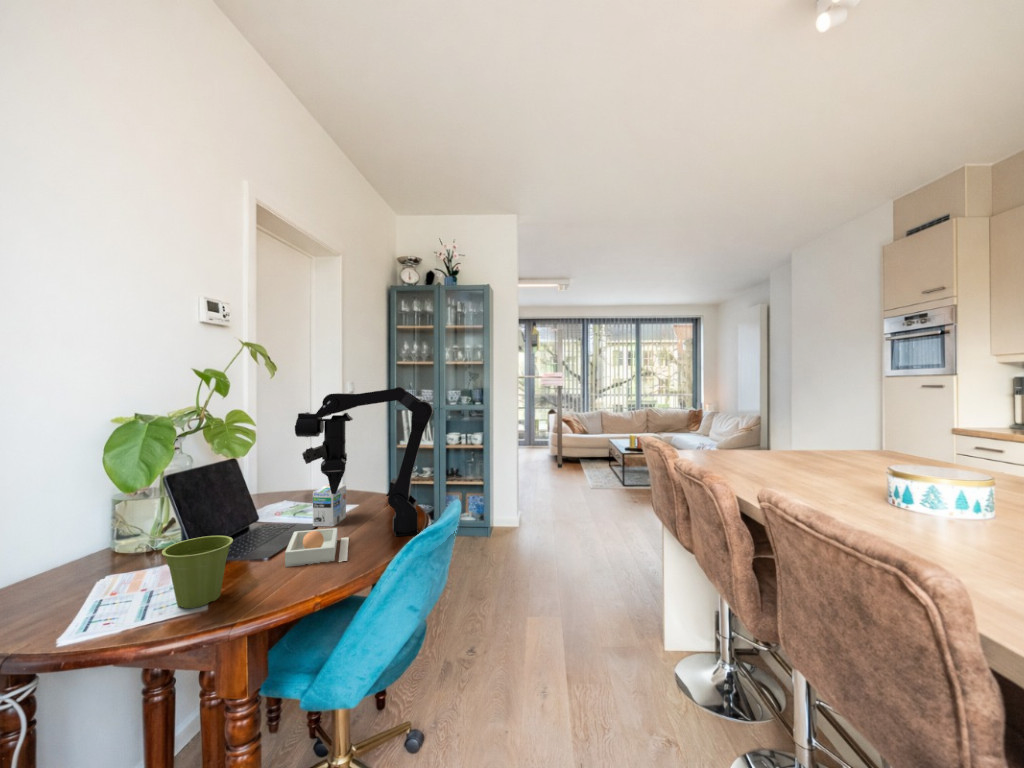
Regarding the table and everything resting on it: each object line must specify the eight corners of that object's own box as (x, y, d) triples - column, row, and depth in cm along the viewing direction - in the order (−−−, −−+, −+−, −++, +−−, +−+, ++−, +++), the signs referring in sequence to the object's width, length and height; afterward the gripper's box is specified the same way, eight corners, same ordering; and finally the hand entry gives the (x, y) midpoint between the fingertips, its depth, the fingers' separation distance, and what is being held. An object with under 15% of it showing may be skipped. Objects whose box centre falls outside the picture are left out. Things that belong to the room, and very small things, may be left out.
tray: (337, 540, 127) (337, 527, 127) (334, 561, 112) (334, 547, 112) (294, 544, 123) (294, 531, 123) (285, 567, 108) (285, 552, 108)
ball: (324, 546, 121) (324, 527, 121) (322, 552, 116) (323, 533, 116) (303, 548, 119) (304, 529, 119) (301, 554, 114) (301, 535, 115)
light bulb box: (333, 527, 139) (333, 492, 139) (311, 527, 139) (311, 491, 139) (346, 517, 149) (346, 484, 149) (326, 516, 149) (326, 484, 149)
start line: (348, 537, 129) (348, 537, 129) (347, 561, 112) (347, 560, 112) (341, 538, 128) (341, 538, 128) (338, 562, 111) (338, 561, 111)
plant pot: (225, 582, 100) (225, 531, 100) (239, 601, 91) (239, 545, 91) (157, 600, 92) (157, 544, 92) (166, 622, 83) (166, 561, 83)
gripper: (308, 433, 138) (307, 485, 138) (300, 441, 120) (300, 500, 120) (347, 432, 141) (346, 482, 141) (345, 440, 123) (344, 497, 123)
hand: (334, 490), depth 131 cm, fingers open, 9 cm apart
